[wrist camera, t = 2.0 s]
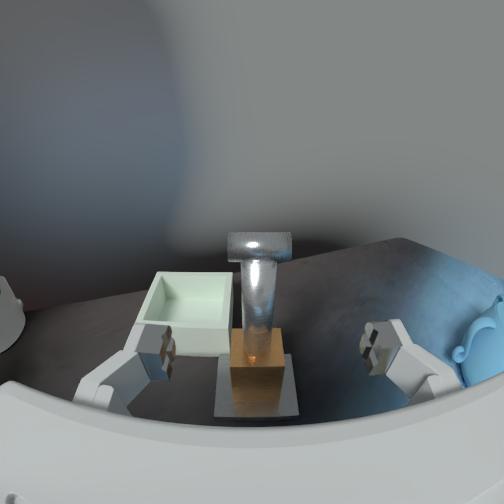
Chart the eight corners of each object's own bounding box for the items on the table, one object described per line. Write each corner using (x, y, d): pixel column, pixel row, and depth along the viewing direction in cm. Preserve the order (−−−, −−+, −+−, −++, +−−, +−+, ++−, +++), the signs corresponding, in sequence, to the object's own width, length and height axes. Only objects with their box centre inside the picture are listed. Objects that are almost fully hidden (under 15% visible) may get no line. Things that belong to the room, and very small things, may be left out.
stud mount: (215, 420, 29) (207, 390, 25) (219, 359, 38) (215, 323, 34) (297, 419, 29) (307, 388, 25) (289, 359, 38) (295, 322, 34)
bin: (144, 352, 38) (134, 324, 35) (163, 298, 49) (157, 271, 46) (230, 357, 38) (228, 328, 35) (233, 300, 49) (232, 272, 46)
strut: (233, 402, 30) (221, 251, 20) (234, 367, 35) (226, 219, 25) (279, 401, 30) (300, 251, 20) (276, 366, 35) (289, 219, 25)
